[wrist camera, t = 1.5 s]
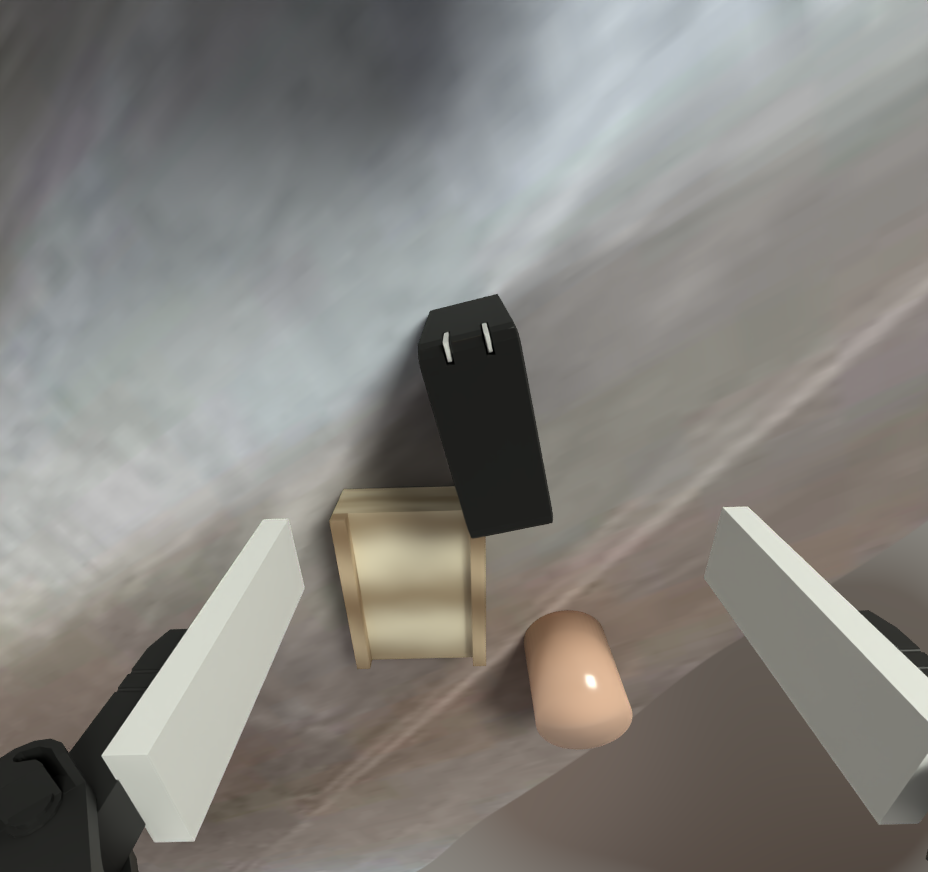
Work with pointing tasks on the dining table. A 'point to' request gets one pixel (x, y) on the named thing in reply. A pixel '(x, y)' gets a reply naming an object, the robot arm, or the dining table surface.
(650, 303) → the dining table surface
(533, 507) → the electronic device
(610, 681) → the peach rounded cylinder
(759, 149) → the dining table surface
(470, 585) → the stand
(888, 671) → the robot arm
